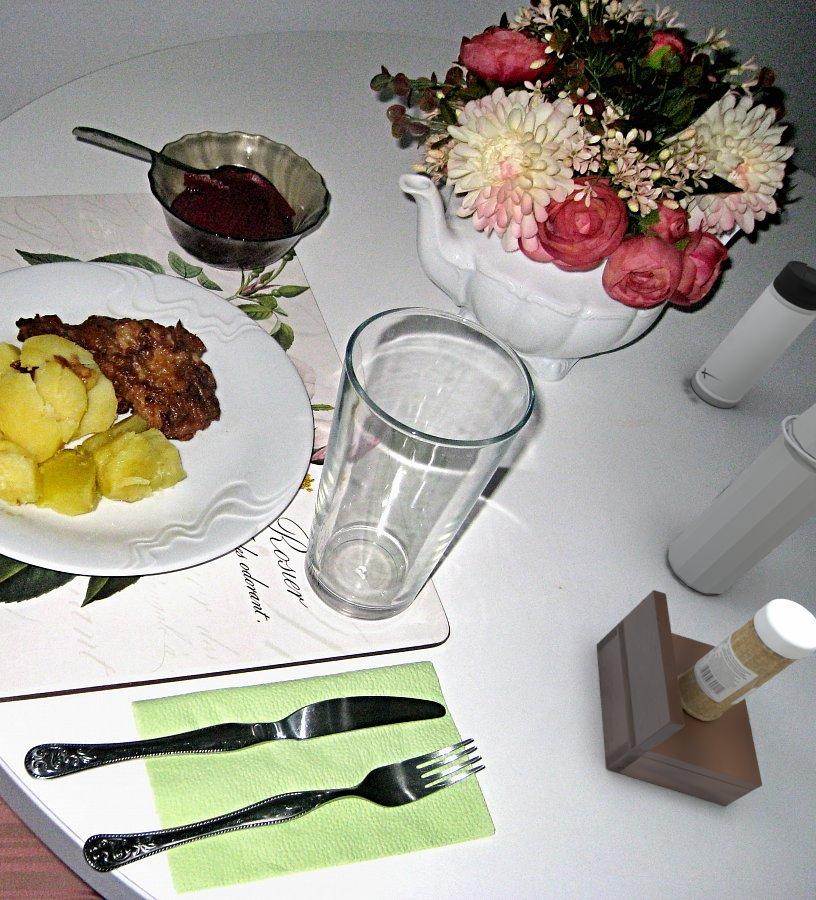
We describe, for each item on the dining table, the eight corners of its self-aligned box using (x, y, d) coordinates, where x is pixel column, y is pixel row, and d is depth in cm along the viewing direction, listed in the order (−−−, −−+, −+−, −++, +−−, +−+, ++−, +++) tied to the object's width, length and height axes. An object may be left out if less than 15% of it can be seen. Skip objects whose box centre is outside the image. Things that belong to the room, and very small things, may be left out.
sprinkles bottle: (728, 723, 78) (837, 650, 68) (682, 721, 77) (785, 646, 68) (707, 675, 81) (808, 598, 71) (662, 672, 80) (758, 594, 70)
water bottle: (738, 607, 94) (922, 454, 76) (667, 588, 94) (834, 430, 75) (719, 538, 100) (886, 381, 82) (653, 520, 100) (804, 359, 82)
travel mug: (684, 392, 117) (786, 271, 102) (696, 367, 121) (795, 247, 106) (730, 417, 115) (840, 298, 100) (740, 391, 119) (847, 273, 104)
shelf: (704, 676, 87) (771, 625, 80) (726, 806, 79) (803, 762, 71) (596, 643, 87) (653, 589, 80) (606, 769, 79) (670, 721, 71)
